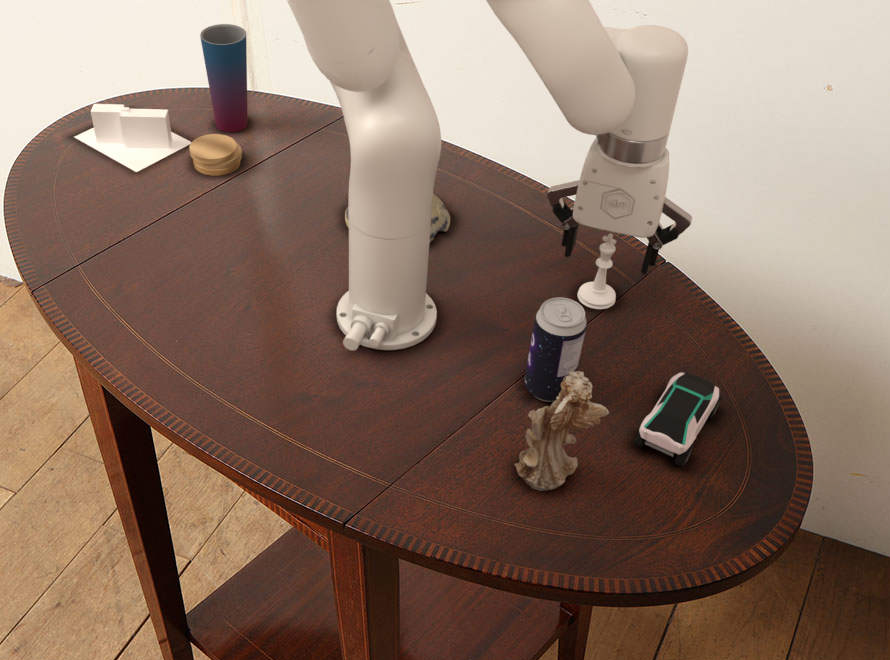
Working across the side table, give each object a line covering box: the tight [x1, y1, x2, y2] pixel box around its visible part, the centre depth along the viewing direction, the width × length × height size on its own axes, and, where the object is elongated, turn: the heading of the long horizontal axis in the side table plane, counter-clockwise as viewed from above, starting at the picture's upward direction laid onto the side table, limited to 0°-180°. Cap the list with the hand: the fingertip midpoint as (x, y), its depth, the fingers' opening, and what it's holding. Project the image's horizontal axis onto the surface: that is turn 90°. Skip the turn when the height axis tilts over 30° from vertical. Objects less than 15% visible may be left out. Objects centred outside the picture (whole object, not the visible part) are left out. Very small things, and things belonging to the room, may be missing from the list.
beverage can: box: [523, 296, 588, 403], centre depth 112 cm, size 6×6×12 cm
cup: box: [199, 23, 249, 134], centre depth 152 cm, size 7×7×15 cm
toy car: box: [633, 372, 722, 467], centre depth 110 cm, size 6×12×5 cm, turn 147°
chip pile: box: [188, 133, 243, 177], centre depth 148 cm, size 8×8×3 cm
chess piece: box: [577, 232, 617, 310], centre depth 125 cm, size 5×5×10 cm
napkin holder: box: [74, 103, 192, 173], centre depth 151 cm, size 15×11×6 cm
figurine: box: [513, 370, 610, 492], centre depth 101 cm, size 7×6×15 cm
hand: (607, 259), depth 124 cm, fingers open, 9 cm apart
